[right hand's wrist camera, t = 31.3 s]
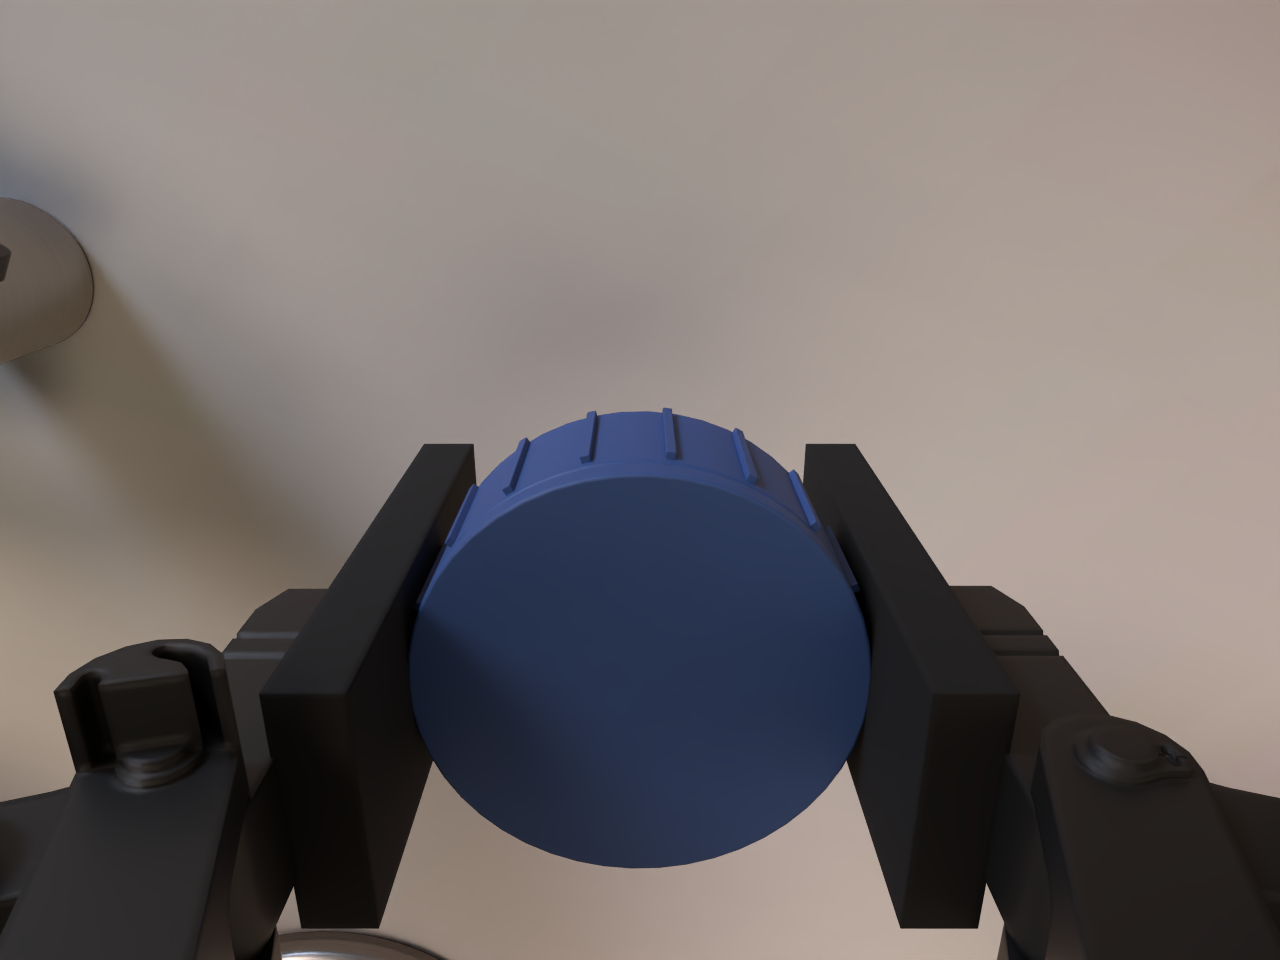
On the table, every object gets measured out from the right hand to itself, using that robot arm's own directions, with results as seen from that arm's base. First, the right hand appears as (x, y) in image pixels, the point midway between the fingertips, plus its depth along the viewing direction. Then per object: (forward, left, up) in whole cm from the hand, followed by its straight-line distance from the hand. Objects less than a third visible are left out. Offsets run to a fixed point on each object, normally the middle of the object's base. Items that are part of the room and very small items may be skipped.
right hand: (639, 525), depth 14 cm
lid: (0, 0, +4) cm, 4 cm away
